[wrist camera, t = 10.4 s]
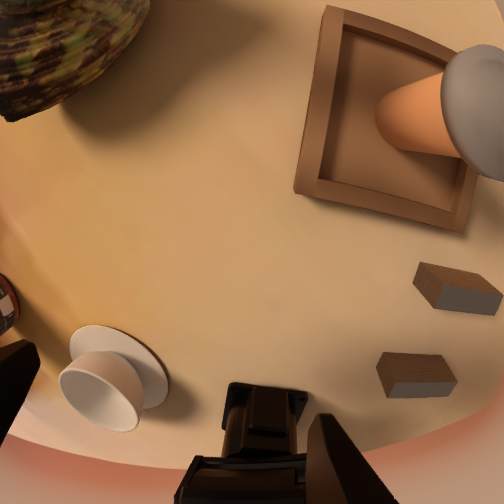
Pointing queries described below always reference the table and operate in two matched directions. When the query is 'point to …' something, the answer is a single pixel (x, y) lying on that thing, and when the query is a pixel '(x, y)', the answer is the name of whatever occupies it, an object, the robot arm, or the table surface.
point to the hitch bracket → (434, 366)
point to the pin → (452, 112)
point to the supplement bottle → (7, 306)
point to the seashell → (59, 48)
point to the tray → (365, 129)
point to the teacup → (111, 378)
